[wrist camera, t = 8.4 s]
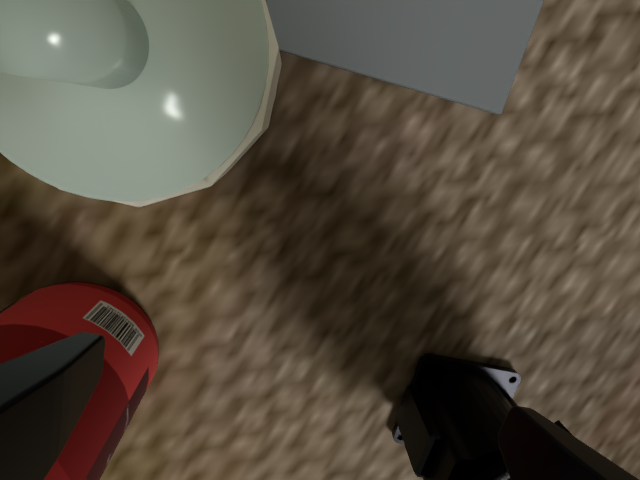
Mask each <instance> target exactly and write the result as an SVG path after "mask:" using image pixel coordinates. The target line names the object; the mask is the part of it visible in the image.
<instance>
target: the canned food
mask: <svg viewBox="0 0 640 480" xmlns="http://www.w3.org/2000/svg"><path fill="white" fill-rule="evenodd" d="M81 332H88V333H94V334H99V335H103V336H104V337H105V352H104V361H103V370H102V375H101V378H100V380H99V383H98V385H97V386H96V388H95V390H94V392H93V394H92V396H91V398H90V400H89V401H88V403H87V405H86V407H85V409H84V411H83V413H82V415H81V416H80V418H79V420H78V422H77V424H76V426H75V428H74V430H73V431H72V433H71V435H70V437H69V439H68V441H67V443H66V444H65V446H64V448H63V450H62V452H61V453H60V455H59V457H58V459H57V460H56V462H55V463H54V465H53V466H52V468H51V470H50V471H49V473H48V474H47V476H46V477H45V478H44V480H100V478H101V476H102V474H103V472H104V470H105V468H106V466H107V464H108V462H109V460H110V459H111V457H112V455H113V453H114V451H115V449H116V447H117V445H118V443H119V441H120V439H121V438H122V436H123V434H124V432H125V430H126V428H127V426H128V424H129V422H130V420H131V418H132V417H133V415H134V413H135V411H136V409H137V407H138V405H139V403H140V401H141V399H142V397H143V396H144V394H145V392H146V390H147V388H148V386H149V384H150V382H151V380H152V378H153V376H154V374H155V372H156V368H157V364H158V339H157V335H156V331H155V329H154V327H153V325H152V323H151V321H150V319H149V318H148V317H147V315H146V314H145V313H144V311H143V310H142V309H141V308H140V307H139V306H137V305H136V304H135V303H134V302H133V301H132V300H130V299H129V298H127V297H125V296H124V295H122V294H121V293H119V292H116V291H114V290H112V289H110V288H107V287H104V286H100V285H96V284H92V283H82V282H71V283H61V284H57V285H52V286H48V287H44V288H40V289H37V290H35V291H33V292H31V293H29V294H27V295H25V296H23V297H22V298H20V299H19V300H17V301H16V302H14V303H13V304H11V305H10V306H8V307H6V308H5V309H3V310H2V311H0V364H1V363H4V362H7V361H9V360H12V359H14V358H17V357H19V356H22V355H24V354H27V353H29V352H32V351H35V350H37V349H40V348H42V347H45V346H47V345H50V344H52V343H55V342H57V341H60V340H63V339H65V338H68V337H70V336H73V335H75V334H78V333H81Z"/></svg>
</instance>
